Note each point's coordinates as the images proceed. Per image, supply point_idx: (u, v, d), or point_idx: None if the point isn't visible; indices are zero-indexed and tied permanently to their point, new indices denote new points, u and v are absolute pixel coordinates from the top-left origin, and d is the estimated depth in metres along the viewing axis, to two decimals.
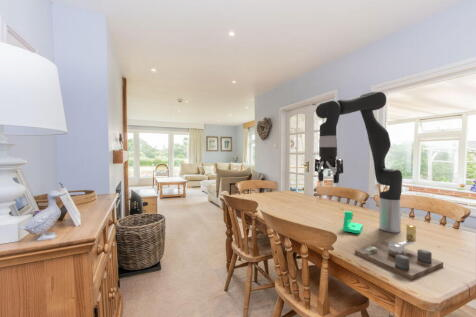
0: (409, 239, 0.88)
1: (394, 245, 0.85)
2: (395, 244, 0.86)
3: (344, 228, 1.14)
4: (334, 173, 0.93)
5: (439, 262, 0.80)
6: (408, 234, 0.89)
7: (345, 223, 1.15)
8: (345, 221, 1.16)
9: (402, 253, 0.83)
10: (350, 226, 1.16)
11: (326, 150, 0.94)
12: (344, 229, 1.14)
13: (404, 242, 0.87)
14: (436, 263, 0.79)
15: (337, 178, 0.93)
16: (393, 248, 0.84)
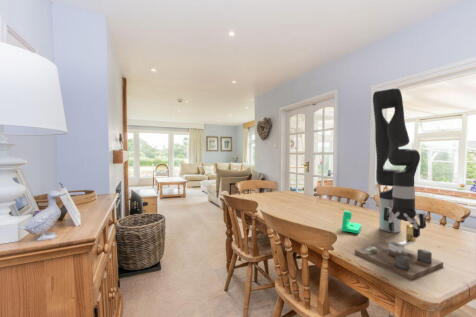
0: (409, 239, 0.89)
1: (394, 245, 0.85)
2: (395, 244, 0.86)
3: (343, 228, 1.15)
4: (416, 227, 0.87)
5: (439, 262, 0.80)
6: (408, 234, 0.89)
7: (344, 223, 1.15)
8: (344, 221, 1.16)
9: (402, 253, 0.83)
10: (349, 226, 1.17)
11: (406, 202, 0.88)
12: (343, 229, 1.15)
13: (404, 242, 0.87)
14: (436, 263, 0.79)
15: (419, 233, 0.87)
16: (393, 248, 0.84)
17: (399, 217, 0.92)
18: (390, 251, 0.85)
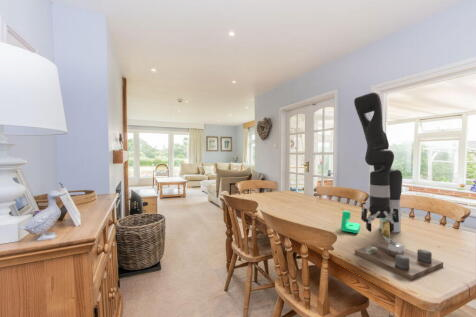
0: (387, 235, 0.93)
1: (397, 246, 0.84)
2: (394, 244, 0.85)
3: (342, 228, 1.15)
4: (393, 222, 0.93)
5: (439, 262, 0.80)
6: (386, 230, 0.93)
7: (343, 223, 1.16)
8: (343, 221, 1.16)
9: None
10: (348, 226, 1.17)
11: (388, 201, 0.91)
12: (342, 229, 1.15)
13: (390, 239, 0.90)
14: (436, 263, 0.79)
15: None
16: (399, 250, 0.83)
17: (378, 216, 0.94)
18: (396, 253, 0.83)
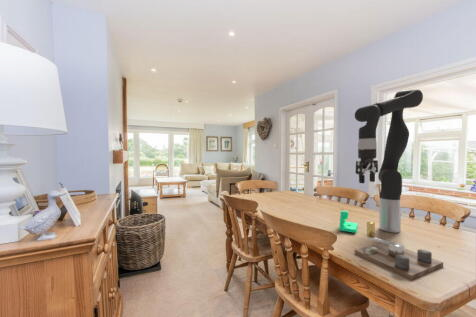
0: (374, 235, 0.93)
1: (399, 246, 0.84)
2: (395, 245, 0.85)
3: (340, 227, 1.15)
4: (375, 172, 1.04)
5: (439, 262, 0.80)
6: (373, 231, 0.93)
7: (341, 222, 1.16)
8: (341, 220, 1.17)
9: None
10: (346, 225, 1.18)
11: (376, 152, 1.01)
12: (340, 228, 1.15)
13: (381, 240, 0.90)
14: (436, 263, 0.79)
15: None
16: (403, 249, 0.83)
17: None
18: (401, 253, 0.83)
